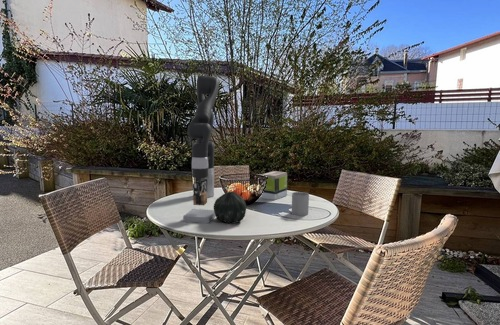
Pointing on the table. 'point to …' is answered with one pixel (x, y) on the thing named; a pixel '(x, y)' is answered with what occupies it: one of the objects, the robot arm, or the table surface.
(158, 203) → the table surface
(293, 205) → the cup
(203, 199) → the walnut cube
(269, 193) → the tea box
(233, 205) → the squash
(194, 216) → the stone coaster
